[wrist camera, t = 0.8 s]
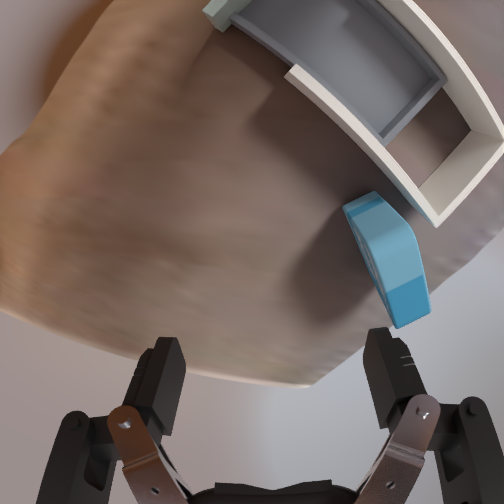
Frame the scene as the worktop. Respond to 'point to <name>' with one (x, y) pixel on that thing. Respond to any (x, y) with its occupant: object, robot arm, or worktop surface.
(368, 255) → the data package
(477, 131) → the cubby
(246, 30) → the drawer
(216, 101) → the worktop surface
